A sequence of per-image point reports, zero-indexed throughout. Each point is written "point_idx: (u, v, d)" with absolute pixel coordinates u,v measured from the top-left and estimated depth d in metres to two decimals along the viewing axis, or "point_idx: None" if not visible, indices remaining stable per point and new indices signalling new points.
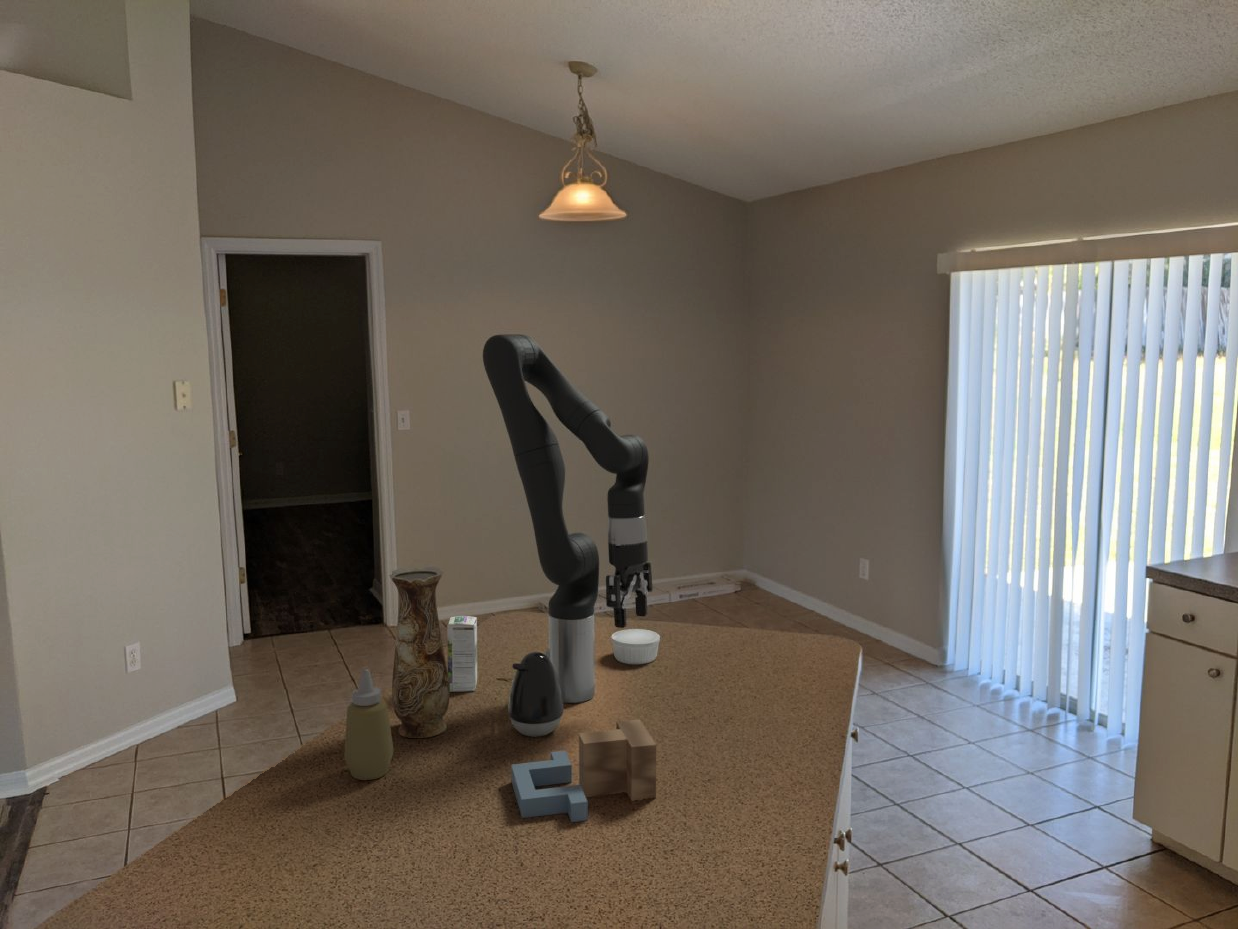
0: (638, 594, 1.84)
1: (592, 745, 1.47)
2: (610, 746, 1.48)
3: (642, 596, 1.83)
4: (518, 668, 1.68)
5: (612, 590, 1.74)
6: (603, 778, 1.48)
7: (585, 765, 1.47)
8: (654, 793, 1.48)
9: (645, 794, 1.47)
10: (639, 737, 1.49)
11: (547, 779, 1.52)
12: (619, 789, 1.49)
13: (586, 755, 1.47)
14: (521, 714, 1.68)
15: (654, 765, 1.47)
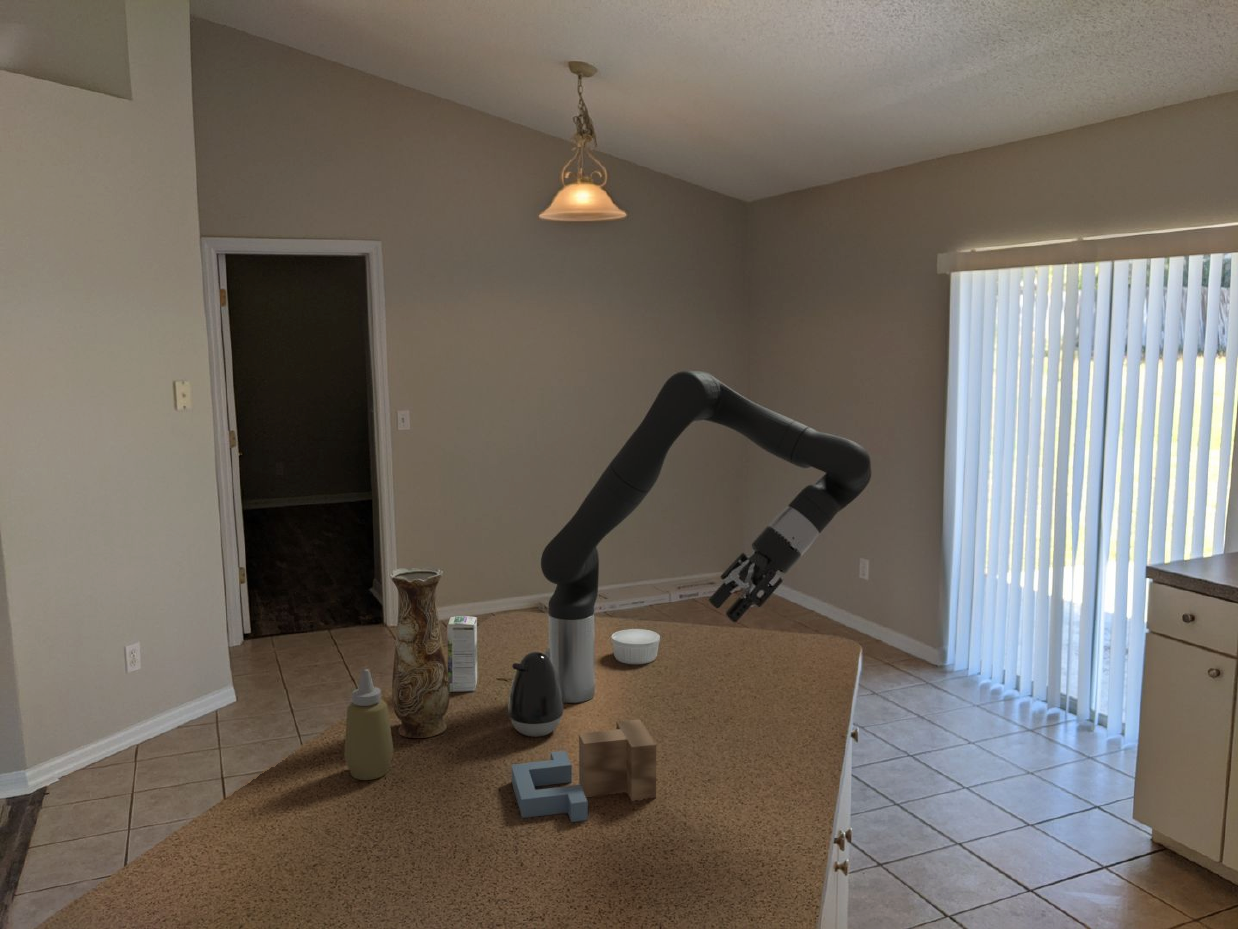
0: (728, 584, 1.60)
1: (592, 745, 1.47)
2: (610, 746, 1.48)
3: (730, 589, 1.60)
4: (518, 668, 1.68)
5: (768, 588, 1.50)
6: (603, 778, 1.48)
7: (585, 765, 1.47)
8: (654, 793, 1.48)
9: (645, 794, 1.47)
10: (639, 737, 1.49)
11: (547, 779, 1.52)
12: (619, 789, 1.49)
13: (586, 755, 1.47)
14: (521, 714, 1.68)
15: (654, 765, 1.47)
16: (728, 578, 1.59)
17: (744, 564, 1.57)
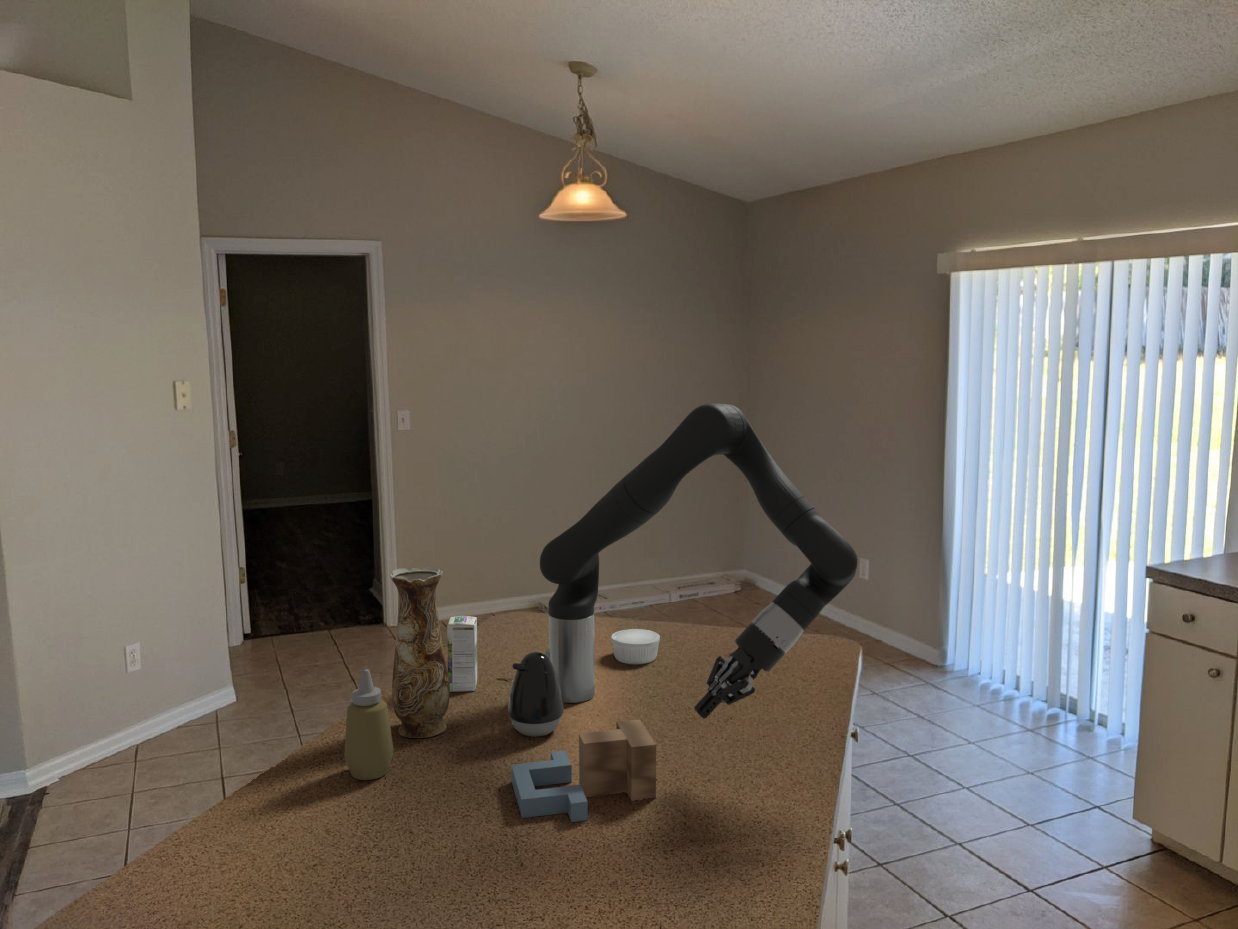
0: None
1: (592, 745, 1.47)
2: (610, 746, 1.48)
3: None
4: (518, 668, 1.68)
5: (737, 695, 1.49)
6: (603, 778, 1.48)
7: (585, 765, 1.47)
8: (654, 793, 1.48)
9: (645, 794, 1.47)
10: (639, 737, 1.49)
11: (547, 779, 1.52)
12: (619, 789, 1.49)
13: (586, 755, 1.47)
14: (521, 714, 1.68)
15: (654, 765, 1.47)
16: (714, 686, 1.53)
17: (728, 661, 1.54)
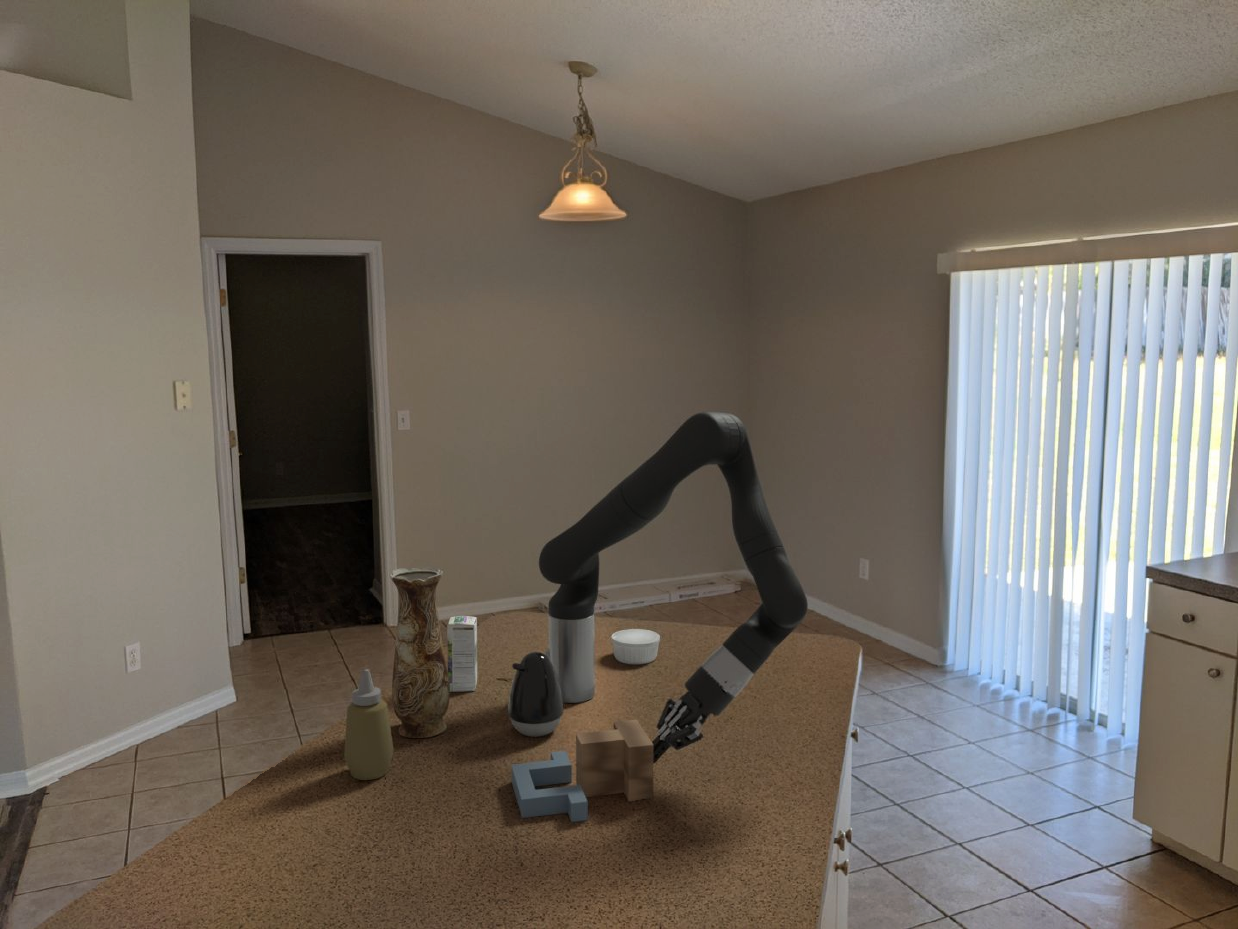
0: None
1: (589, 745, 1.47)
2: (607, 747, 1.48)
3: None
4: (518, 668, 1.68)
5: (685, 740, 1.48)
6: (601, 778, 1.48)
7: (582, 765, 1.47)
8: (651, 793, 1.48)
9: (642, 794, 1.47)
10: (636, 737, 1.49)
11: (547, 779, 1.52)
12: (616, 789, 1.49)
13: (583, 755, 1.47)
14: (520, 714, 1.68)
15: (651, 765, 1.47)
16: (663, 730, 1.52)
17: (678, 705, 1.53)
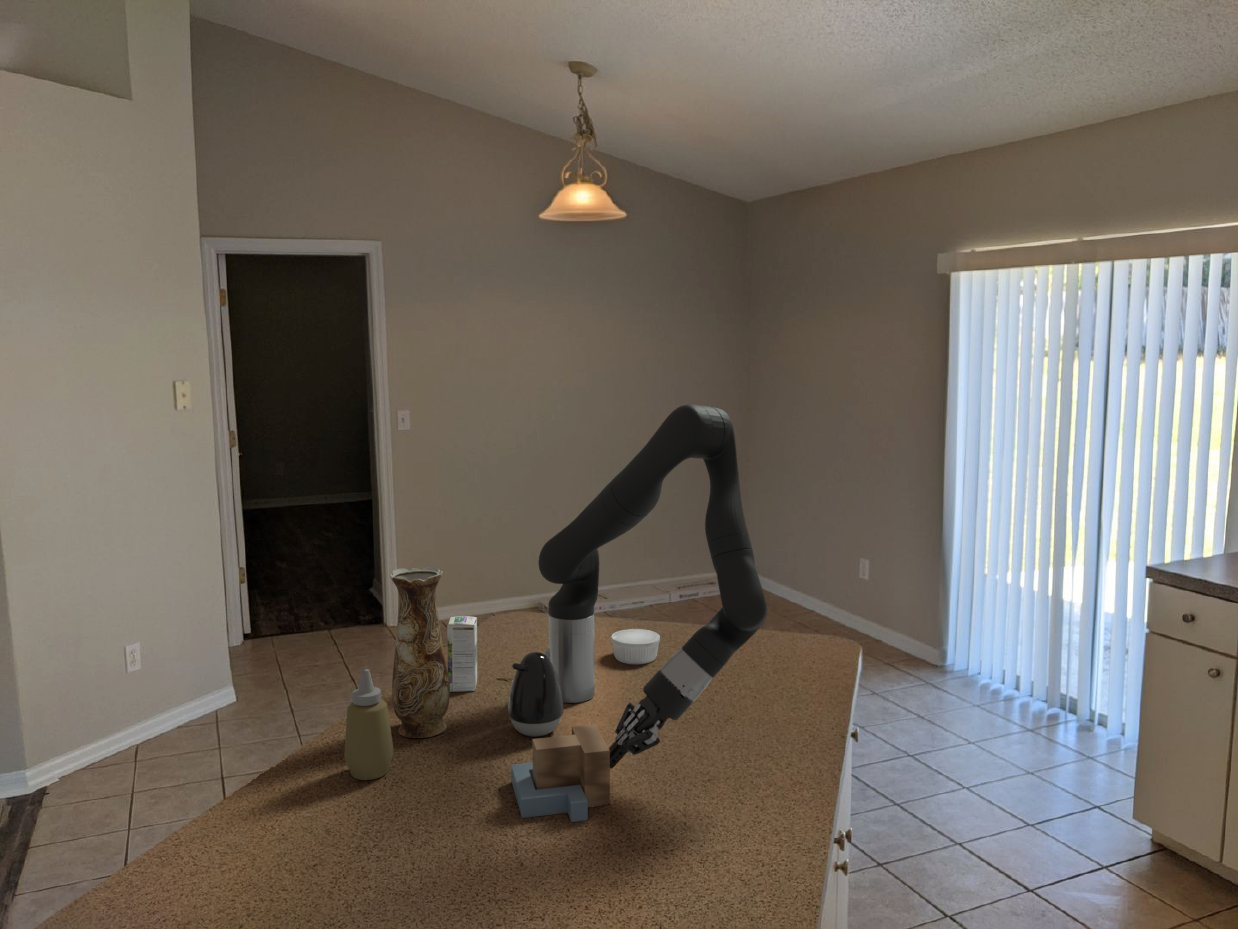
0: None
1: (545, 751, 1.45)
2: (564, 752, 1.46)
3: None
4: (518, 668, 1.68)
5: (642, 745, 1.46)
6: (557, 784, 1.46)
7: (538, 771, 1.45)
8: (608, 799, 1.46)
9: (599, 801, 1.45)
10: (593, 743, 1.47)
11: None
12: None
13: (539, 761, 1.45)
14: (520, 714, 1.68)
15: (608, 771, 1.45)
16: (621, 735, 1.50)
17: (636, 709, 1.51)
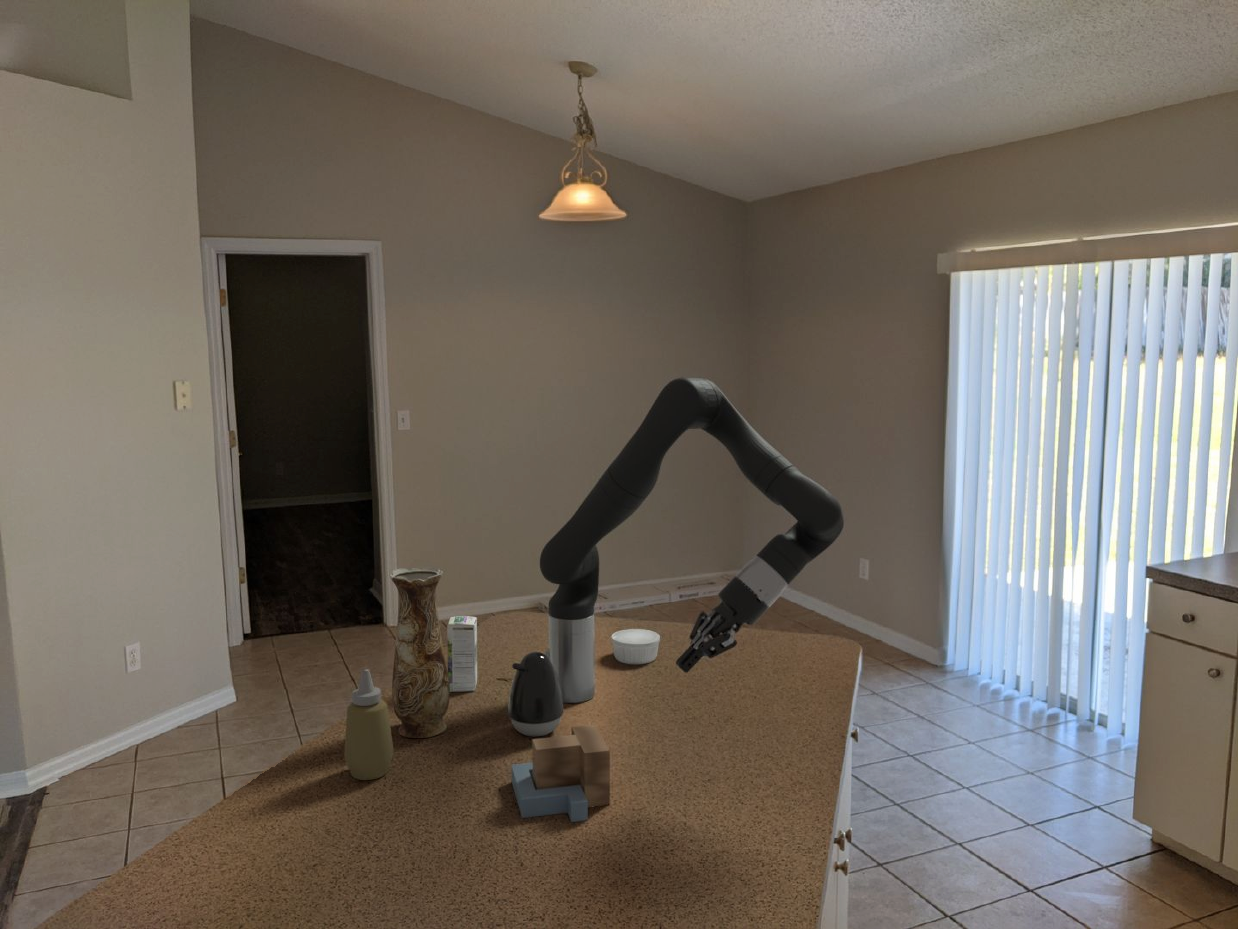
0: None
1: (545, 751, 1.45)
2: (564, 752, 1.46)
3: None
4: (518, 668, 1.68)
5: (719, 648, 1.47)
6: (557, 784, 1.46)
7: (538, 771, 1.45)
8: (608, 800, 1.46)
9: (599, 801, 1.45)
10: (593, 743, 1.47)
11: None
12: None
13: (539, 761, 1.45)
14: (520, 714, 1.68)
15: (608, 771, 1.45)
16: (697, 640, 1.51)
17: (711, 615, 1.52)
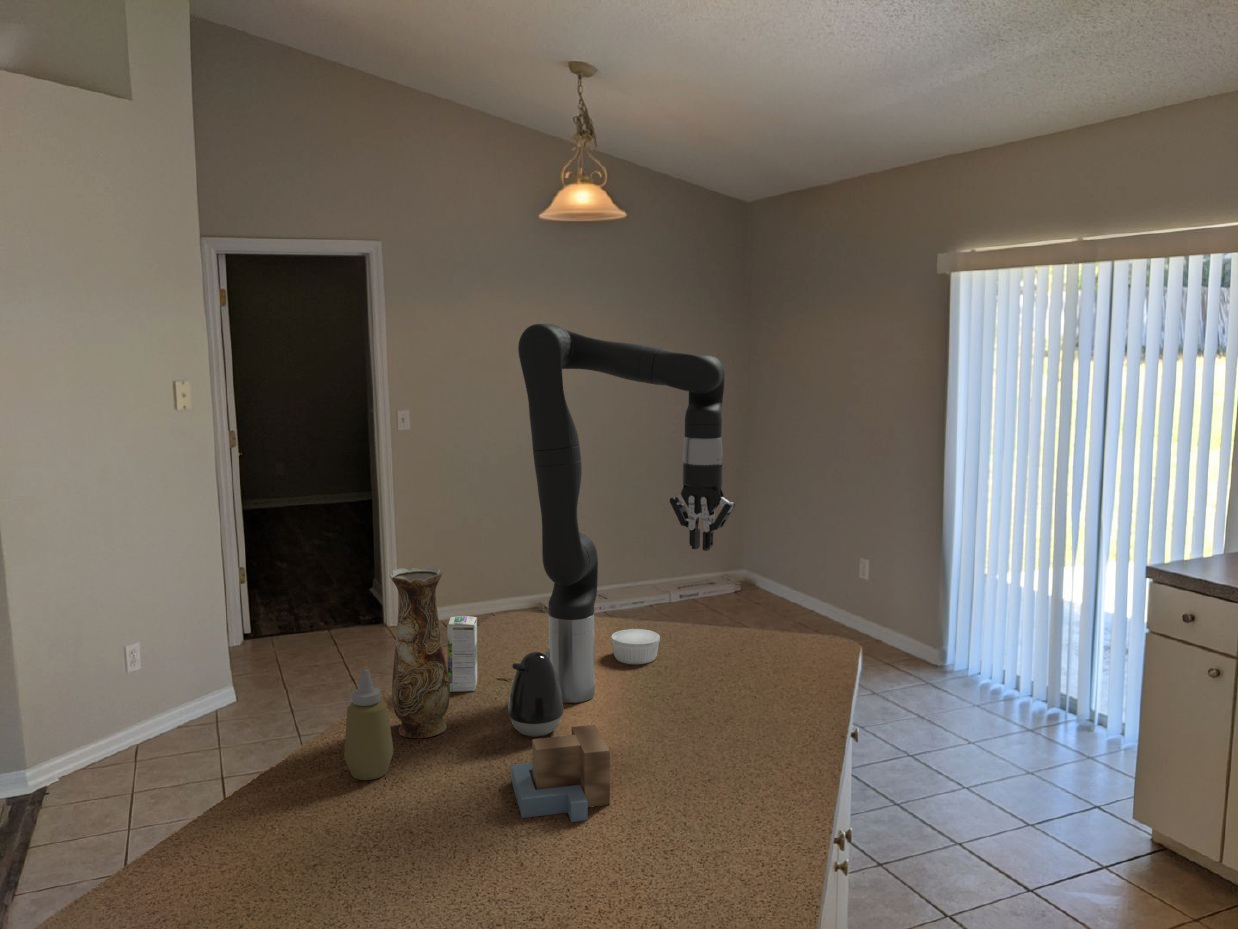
0: (695, 527, 1.79)
1: (545, 751, 1.45)
2: (564, 752, 1.46)
3: (697, 528, 1.80)
4: (518, 668, 1.68)
5: (727, 516, 1.76)
6: (557, 784, 1.46)
7: (538, 771, 1.45)
8: (608, 800, 1.46)
9: (599, 801, 1.45)
10: (593, 743, 1.47)
11: None
12: None
13: (539, 761, 1.45)
14: (521, 714, 1.68)
15: (608, 771, 1.45)
16: (694, 523, 1.79)
17: (692, 501, 1.77)
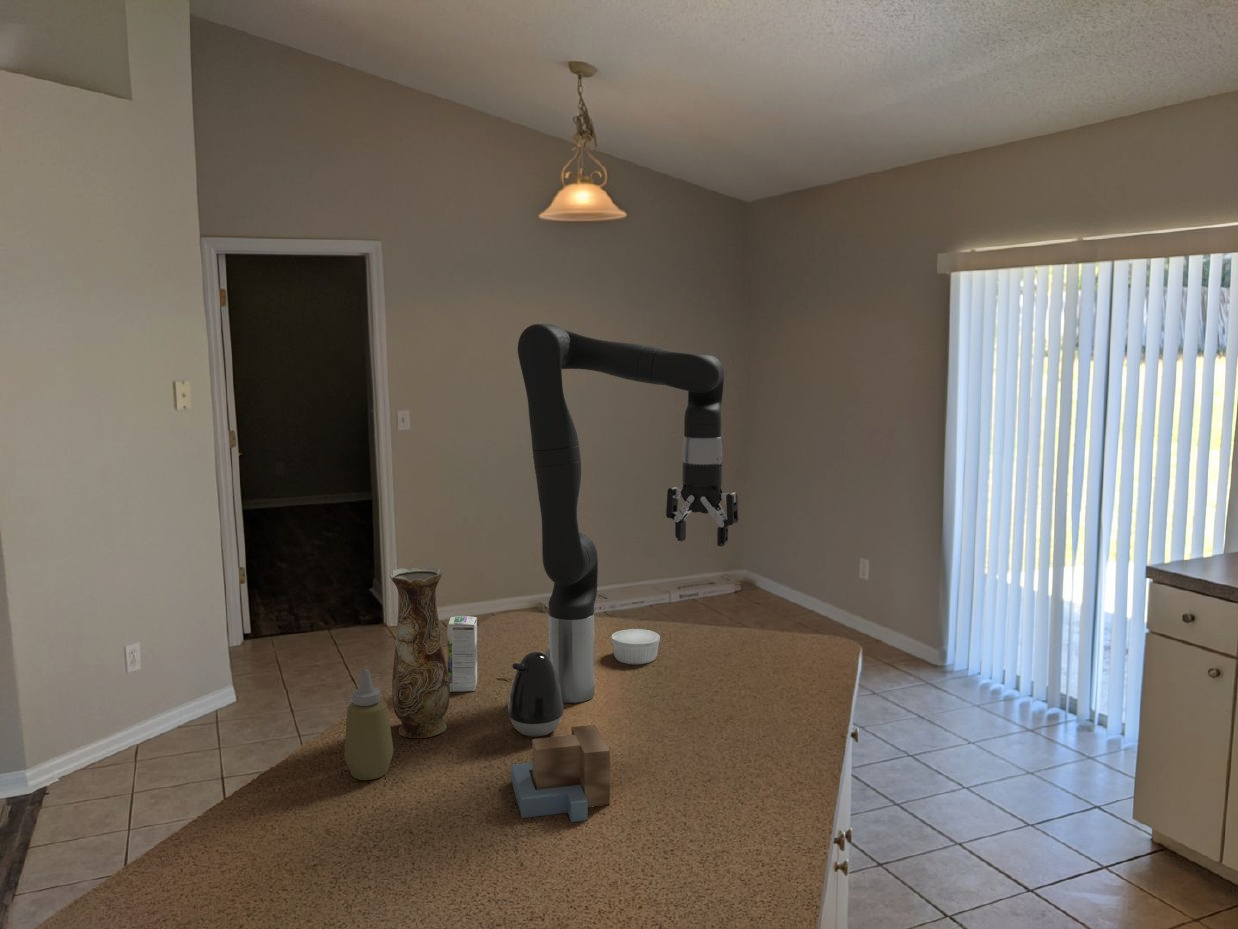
0: (681, 519, 1.81)
1: (545, 751, 1.45)
2: (564, 752, 1.46)
3: (683, 520, 1.82)
4: (518, 668, 1.68)
5: (735, 506, 1.75)
6: (557, 784, 1.46)
7: (538, 771, 1.45)
8: (608, 800, 1.46)
9: (599, 801, 1.45)
10: (593, 743, 1.47)
11: None
12: None
13: (539, 761, 1.45)
14: (521, 714, 1.68)
15: (608, 771, 1.45)
16: (679, 515, 1.80)
17: (690, 500, 1.78)
